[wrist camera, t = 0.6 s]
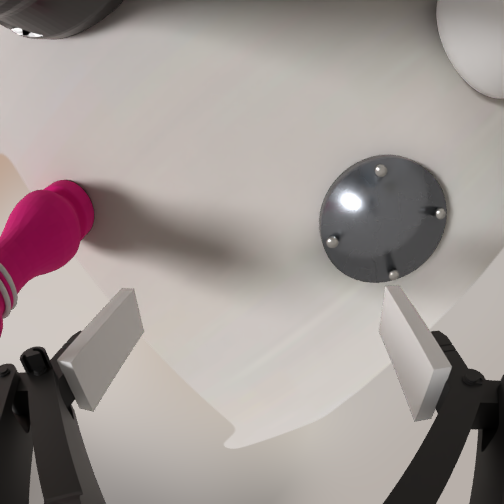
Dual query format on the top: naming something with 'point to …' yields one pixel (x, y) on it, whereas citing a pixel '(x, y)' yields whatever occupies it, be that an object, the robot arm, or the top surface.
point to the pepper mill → (41, 237)
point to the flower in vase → (474, 42)
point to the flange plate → (382, 218)
